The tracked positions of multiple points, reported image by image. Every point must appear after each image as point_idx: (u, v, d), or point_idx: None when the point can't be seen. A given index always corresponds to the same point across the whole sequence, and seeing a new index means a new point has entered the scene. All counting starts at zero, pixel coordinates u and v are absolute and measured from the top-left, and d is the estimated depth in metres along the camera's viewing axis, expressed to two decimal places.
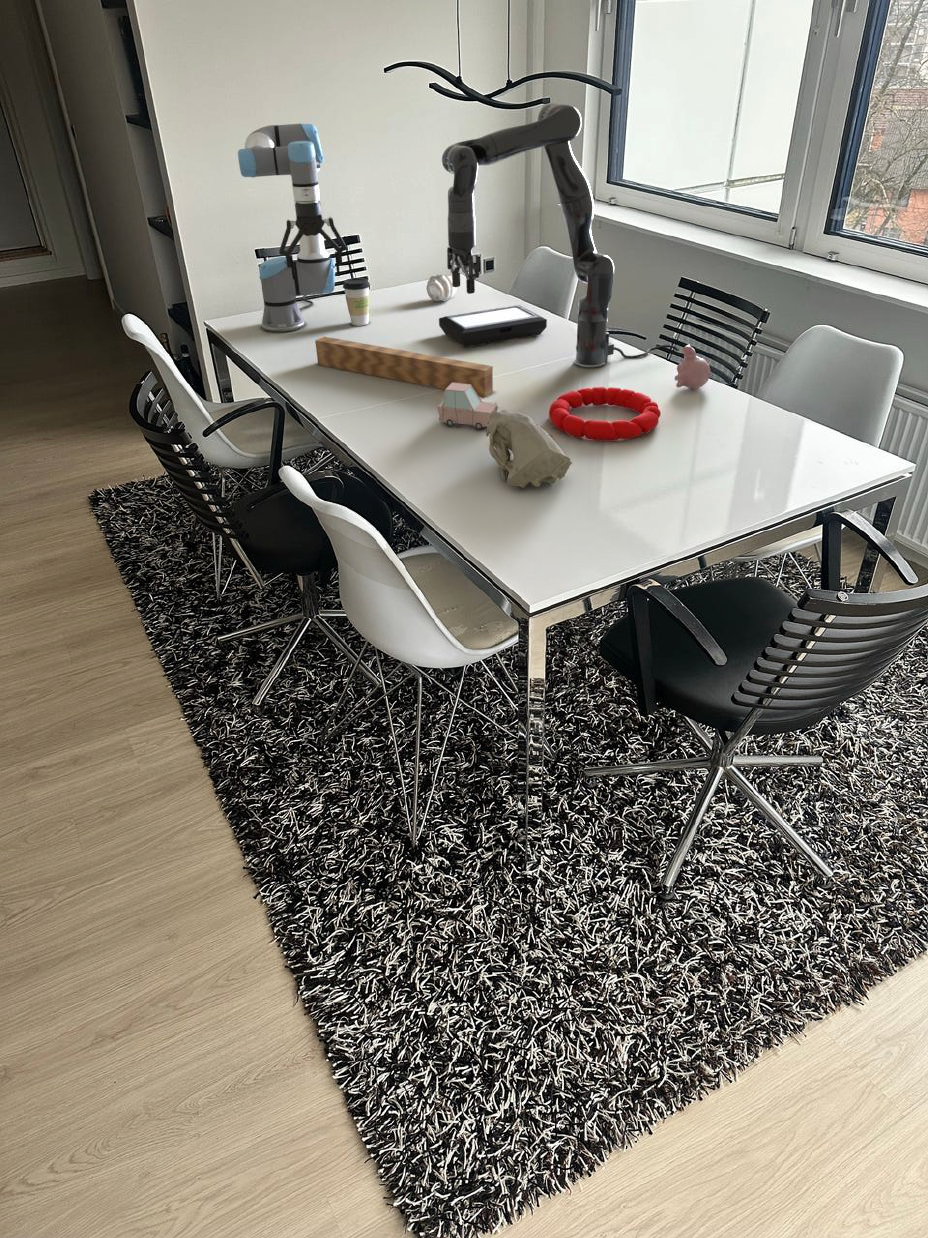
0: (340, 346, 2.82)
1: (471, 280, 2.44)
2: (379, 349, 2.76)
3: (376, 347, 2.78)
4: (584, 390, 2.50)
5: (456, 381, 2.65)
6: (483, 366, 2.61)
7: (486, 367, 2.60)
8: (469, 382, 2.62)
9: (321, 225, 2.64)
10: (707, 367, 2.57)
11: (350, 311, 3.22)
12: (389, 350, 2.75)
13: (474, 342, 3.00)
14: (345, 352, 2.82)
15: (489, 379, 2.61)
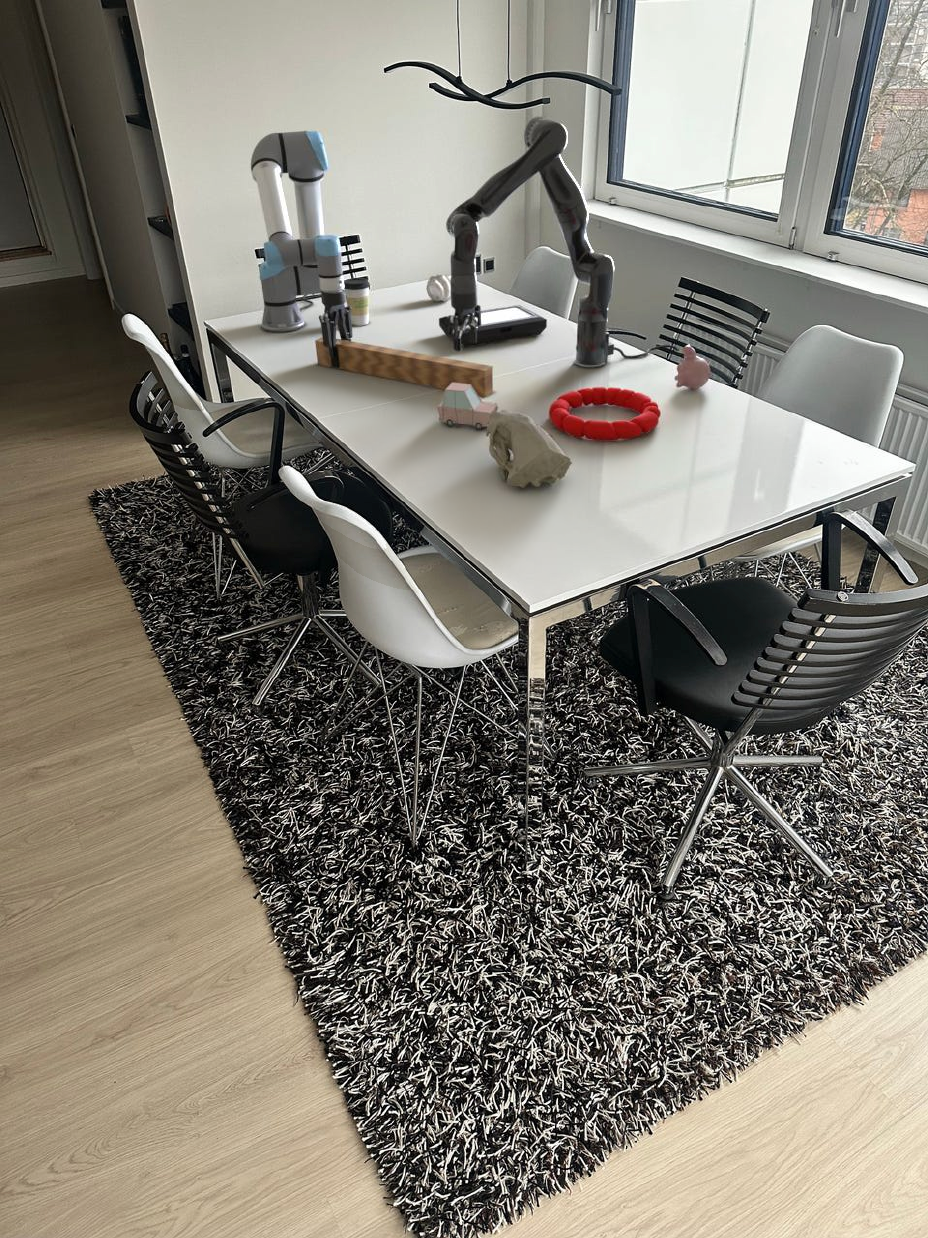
0: (340, 346, 2.82)
1: (454, 338, 2.54)
2: (379, 349, 2.76)
3: (376, 347, 2.78)
4: (584, 390, 2.50)
5: (456, 381, 2.65)
6: (483, 366, 2.61)
7: (486, 367, 2.60)
8: (469, 382, 2.62)
9: (344, 309, 2.81)
10: (707, 367, 2.57)
11: None
12: (389, 350, 2.75)
13: None
14: (345, 352, 2.82)
15: (489, 379, 2.61)
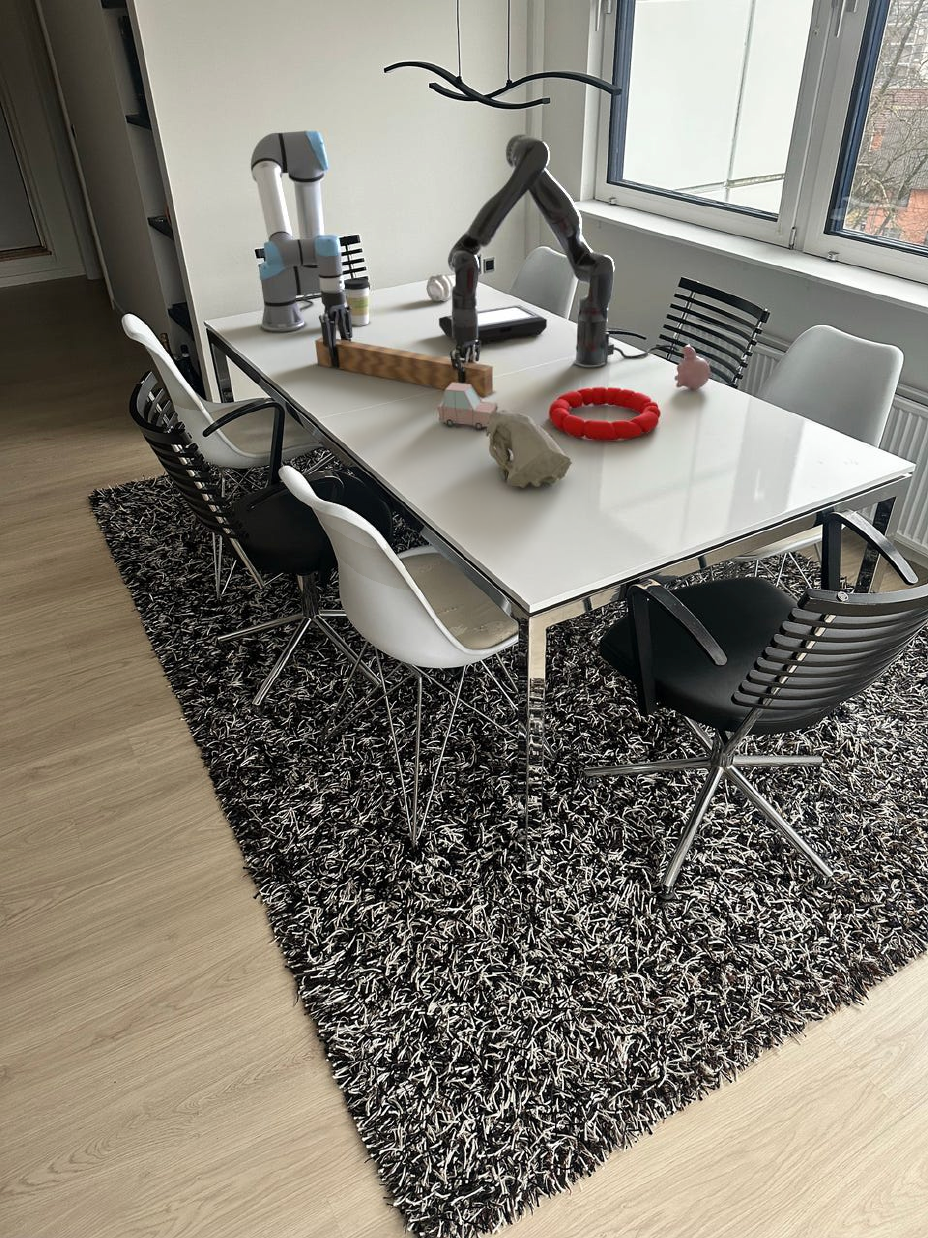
0: (340, 346, 2.82)
1: (458, 371, 2.61)
2: (379, 349, 2.76)
3: (376, 347, 2.78)
4: (584, 390, 2.50)
5: (456, 381, 2.65)
6: (483, 366, 2.61)
7: (486, 367, 2.59)
8: (469, 382, 2.62)
9: (344, 309, 2.81)
10: (707, 367, 2.57)
11: None
12: (389, 350, 2.75)
13: None
14: (345, 352, 2.82)
15: (489, 379, 2.61)
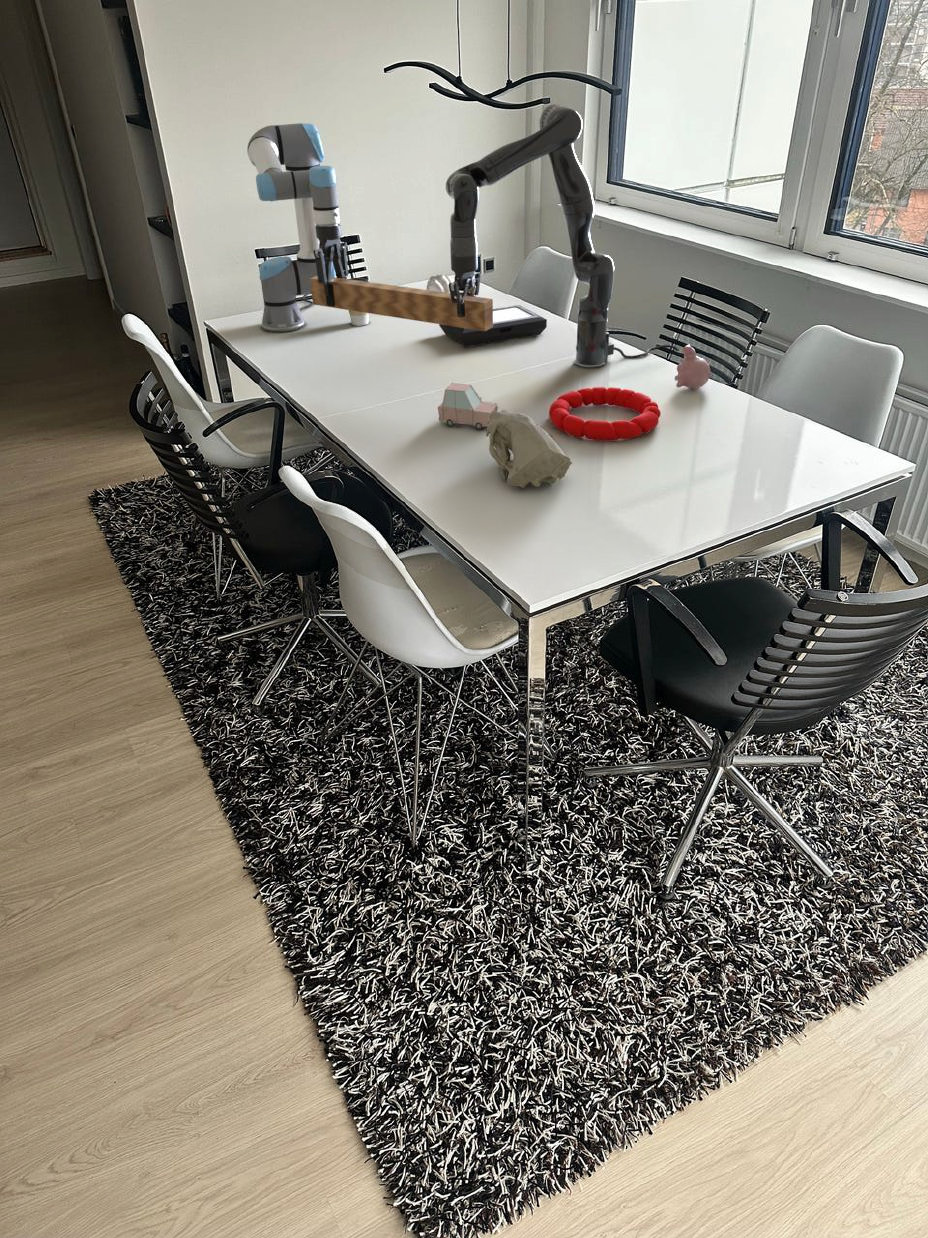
0: (336, 284, 2.73)
1: (457, 304, 2.53)
2: (375, 285, 2.68)
3: (372, 284, 2.70)
4: (584, 390, 2.50)
5: (455, 315, 2.56)
6: (483, 298, 2.53)
7: (486, 300, 2.51)
8: (468, 316, 2.54)
9: (339, 245, 2.72)
10: (707, 367, 2.57)
11: (350, 311, 3.22)
12: (386, 286, 2.67)
13: (474, 342, 3.00)
14: (340, 290, 2.74)
15: (489, 312, 2.53)
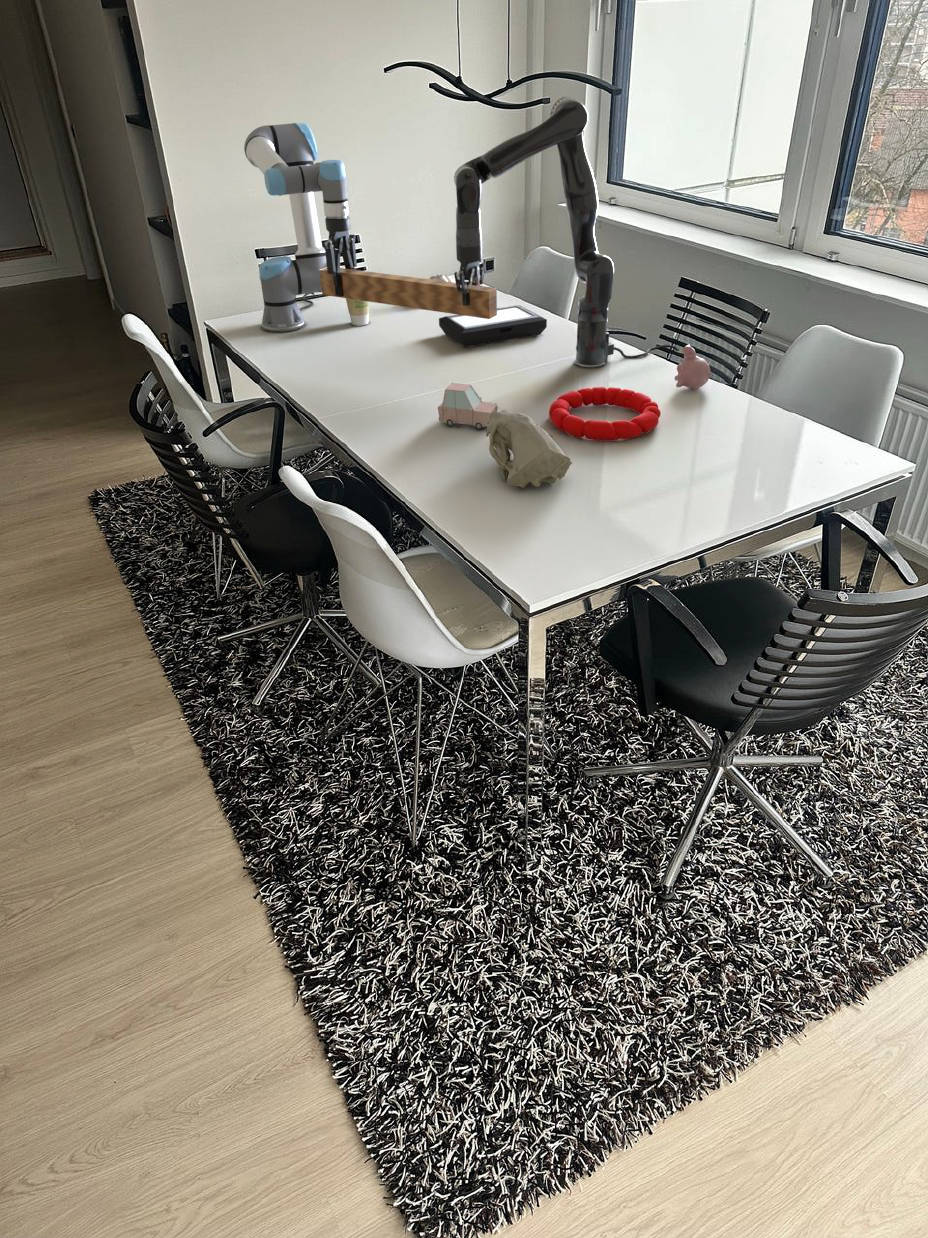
0: (344, 274, 2.83)
1: (463, 293, 2.62)
2: (383, 276, 2.77)
3: (380, 274, 2.79)
4: (584, 390, 2.50)
5: (461, 304, 2.66)
6: (487, 287, 2.62)
7: (491, 289, 2.61)
8: (473, 304, 2.64)
9: (348, 237, 2.82)
10: (707, 367, 2.57)
11: (350, 311, 3.22)
12: (393, 276, 2.76)
13: (474, 342, 3.00)
14: (349, 280, 2.83)
15: (493, 301, 2.63)
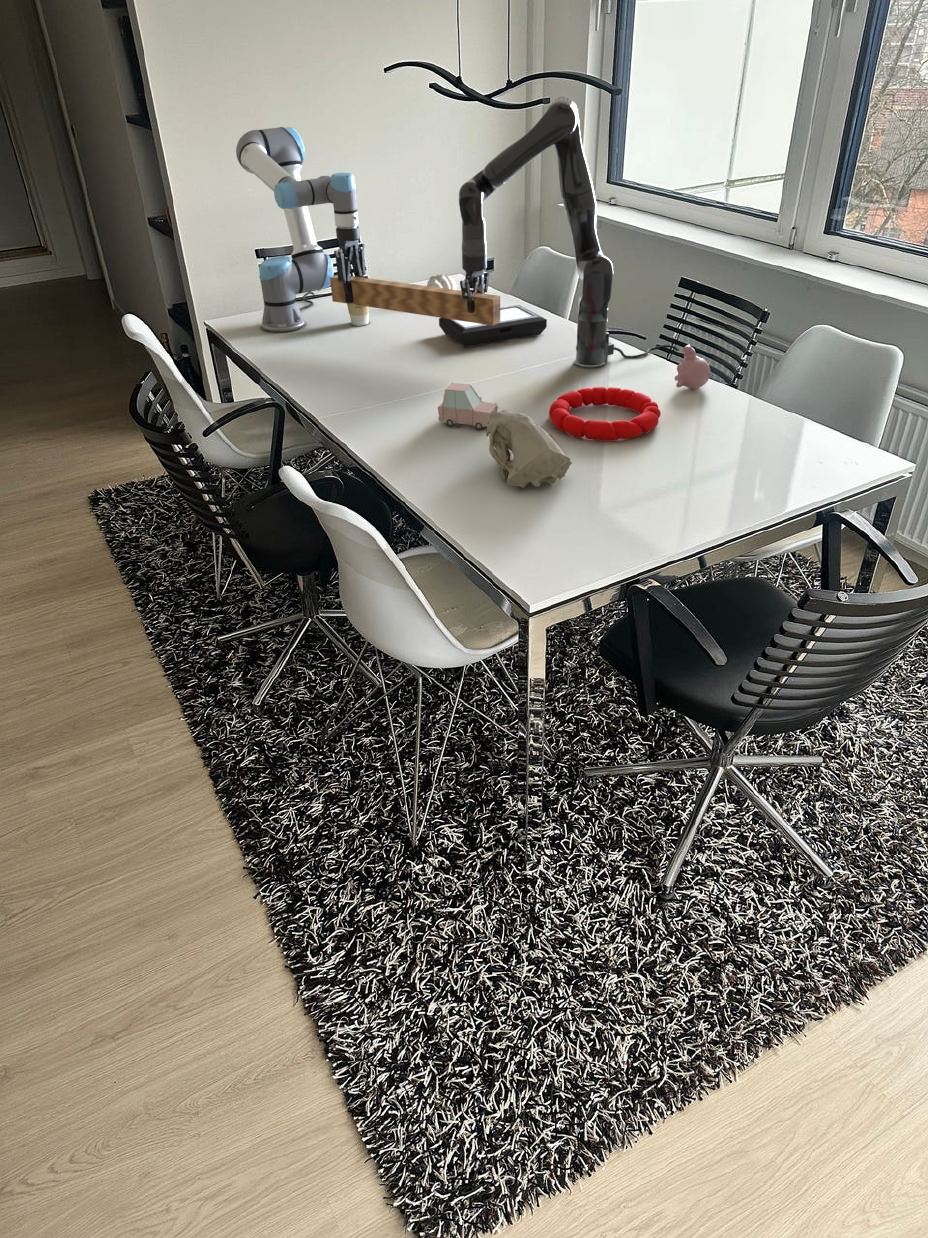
0: (354, 282, 2.95)
1: (468, 301, 2.74)
2: (391, 283, 2.89)
3: (388, 282, 2.91)
4: (584, 390, 2.50)
5: (466, 311, 2.78)
6: (491, 295, 2.74)
7: (495, 297, 2.72)
8: (478, 311, 2.75)
9: (358, 246, 2.93)
10: (707, 367, 2.57)
11: (350, 311, 3.22)
12: (401, 284, 2.88)
13: (474, 342, 3.00)
14: (359, 288, 2.95)
15: (497, 308, 2.74)
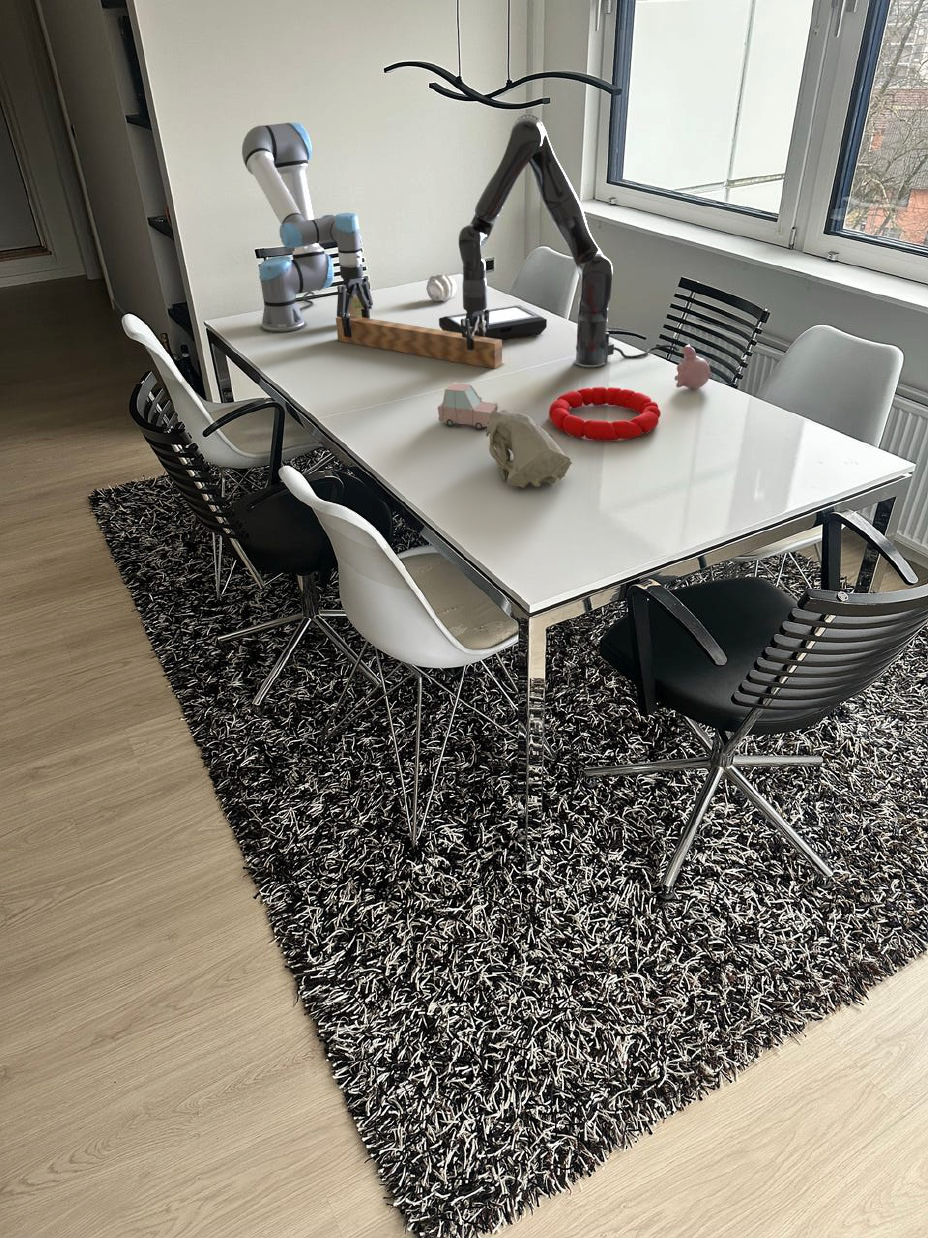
0: (359, 323, 3.02)
1: (467, 339, 2.80)
2: (396, 325, 2.97)
3: (393, 323, 2.98)
4: (584, 390, 2.50)
5: (468, 354, 2.85)
6: (493, 339, 2.81)
7: (496, 341, 2.80)
8: (480, 354, 2.83)
9: (361, 283, 3.00)
10: (707, 367, 2.57)
11: (350, 311, 3.22)
12: (405, 326, 2.96)
13: None
14: (364, 328, 3.02)
15: (499, 352, 2.82)
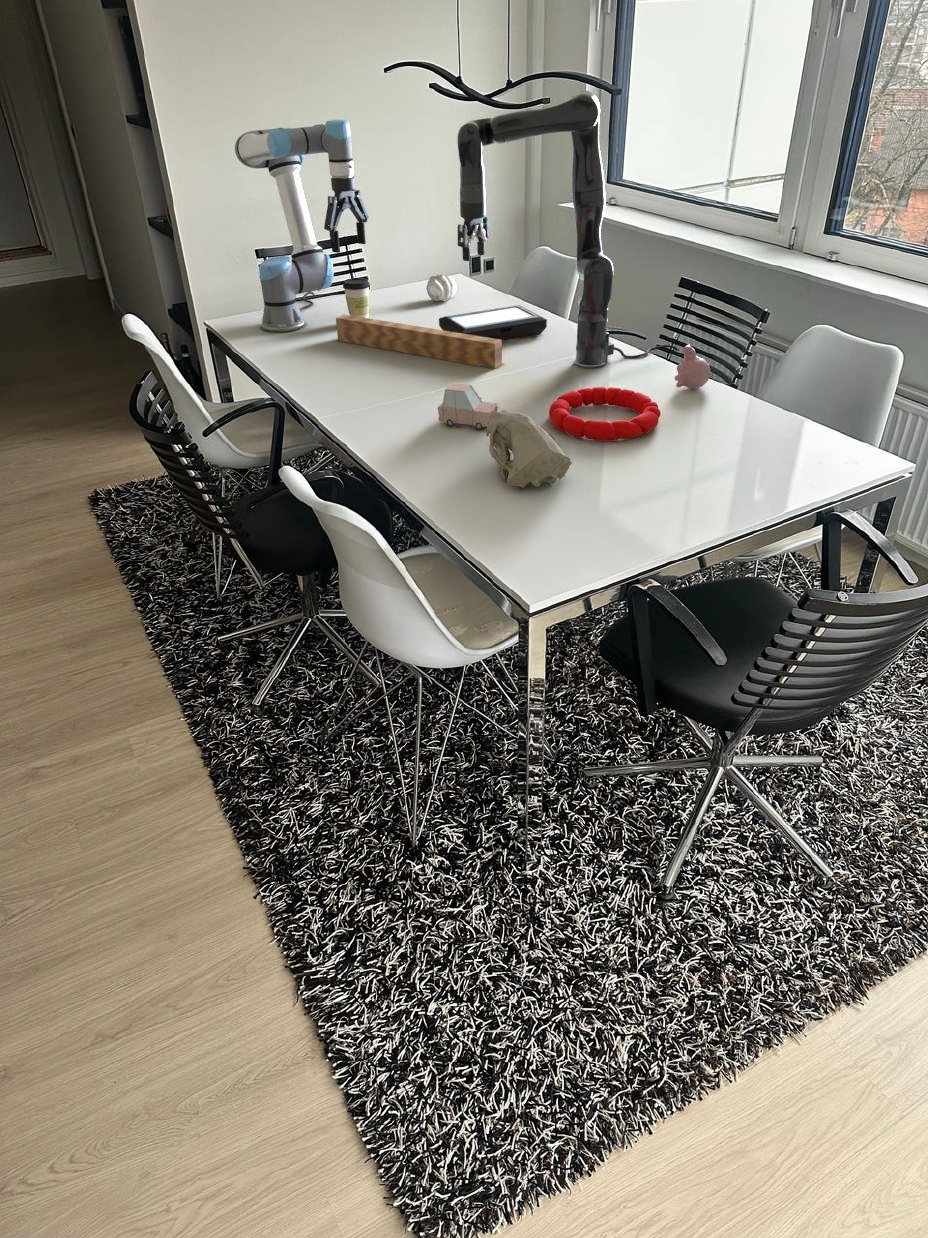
0: (359, 323, 3.02)
1: (463, 248, 2.64)
2: (396, 325, 2.97)
3: (393, 323, 2.98)
4: (584, 390, 2.50)
5: (468, 354, 2.85)
6: (493, 339, 2.81)
7: (496, 341, 2.80)
8: (480, 354, 2.83)
9: (353, 197, 2.85)
10: (707, 367, 2.57)
11: (350, 311, 3.22)
12: (405, 326, 2.96)
13: None
14: (364, 328, 3.02)
15: (499, 352, 2.82)
